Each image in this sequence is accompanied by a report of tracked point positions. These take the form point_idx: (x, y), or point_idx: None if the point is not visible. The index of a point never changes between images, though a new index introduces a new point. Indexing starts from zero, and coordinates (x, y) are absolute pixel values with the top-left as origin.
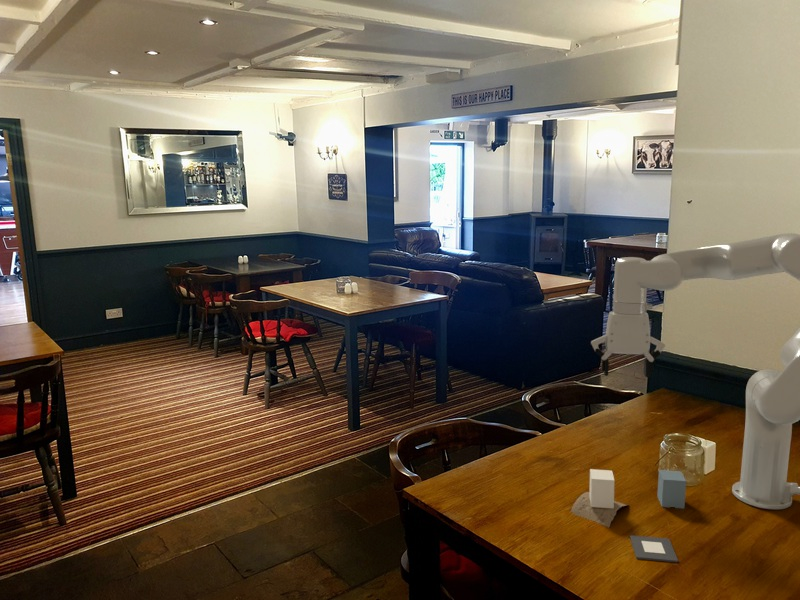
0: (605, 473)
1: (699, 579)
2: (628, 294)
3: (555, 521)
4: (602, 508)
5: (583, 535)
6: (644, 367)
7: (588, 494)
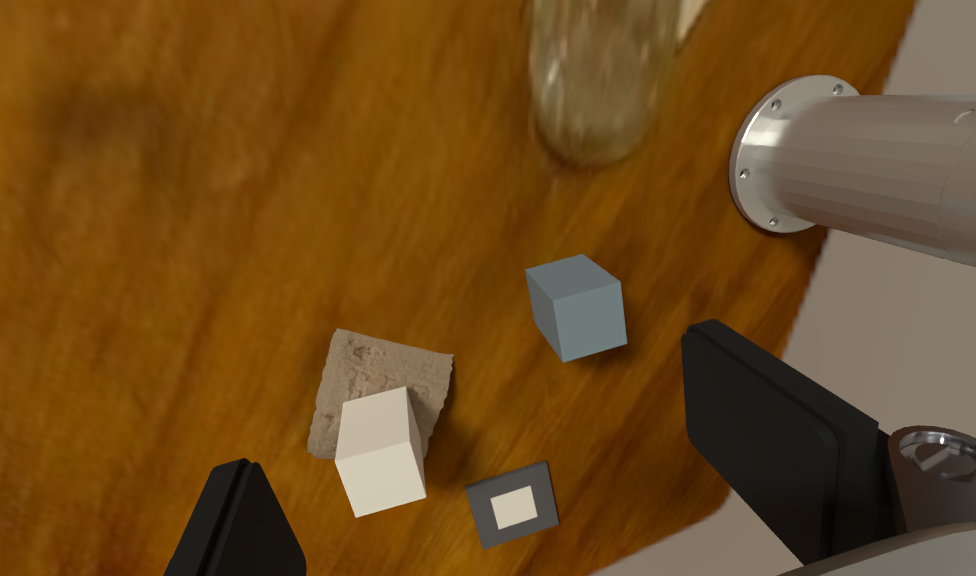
0: (391, 468)
1: (589, 546)
2: None
3: (283, 506)
4: None
5: (364, 525)
6: (737, 405)
7: (337, 387)
